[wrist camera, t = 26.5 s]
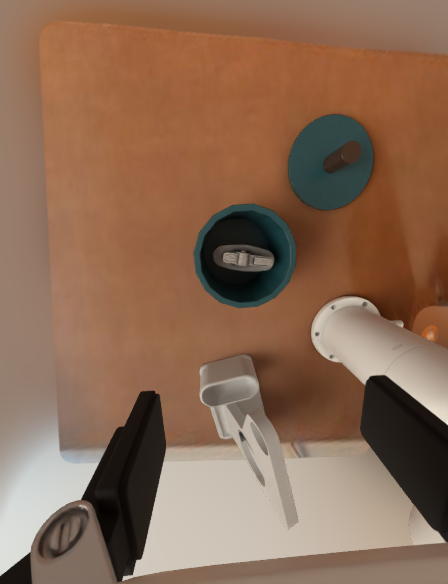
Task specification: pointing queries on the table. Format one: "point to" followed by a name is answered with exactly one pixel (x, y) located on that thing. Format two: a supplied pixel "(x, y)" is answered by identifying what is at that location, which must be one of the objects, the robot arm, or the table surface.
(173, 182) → the table surface
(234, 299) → the tin
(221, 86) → the table surface
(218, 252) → the lighter
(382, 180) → the table surface
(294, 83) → the table surface
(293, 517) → the phone holder
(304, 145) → the tin lid
